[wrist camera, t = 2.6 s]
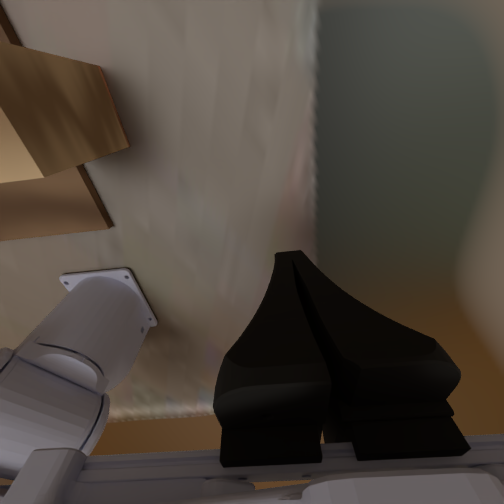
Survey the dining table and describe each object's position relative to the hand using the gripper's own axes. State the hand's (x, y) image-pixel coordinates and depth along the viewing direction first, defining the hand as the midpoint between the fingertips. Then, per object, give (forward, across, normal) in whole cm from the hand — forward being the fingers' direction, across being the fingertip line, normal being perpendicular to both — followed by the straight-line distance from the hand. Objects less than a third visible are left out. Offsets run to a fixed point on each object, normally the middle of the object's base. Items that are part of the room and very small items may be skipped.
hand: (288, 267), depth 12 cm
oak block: (+10, +13, -8) cm, 18 cm away
